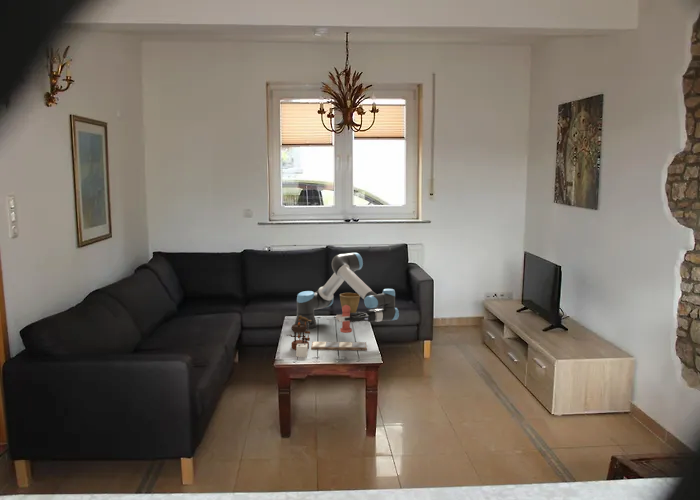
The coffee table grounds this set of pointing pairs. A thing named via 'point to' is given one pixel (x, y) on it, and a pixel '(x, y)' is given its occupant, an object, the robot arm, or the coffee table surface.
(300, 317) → the music box
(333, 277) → the robot arm
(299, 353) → the die
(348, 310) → the pawn
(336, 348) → the board
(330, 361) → the coffee table surface
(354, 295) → the plant pot
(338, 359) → the coffee table surface
